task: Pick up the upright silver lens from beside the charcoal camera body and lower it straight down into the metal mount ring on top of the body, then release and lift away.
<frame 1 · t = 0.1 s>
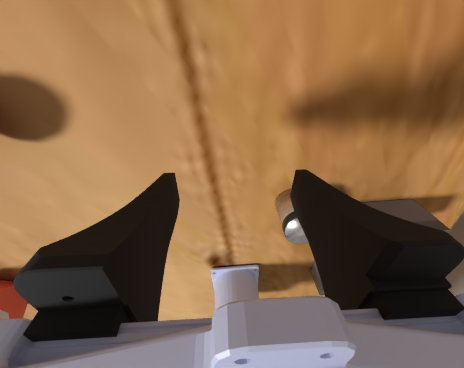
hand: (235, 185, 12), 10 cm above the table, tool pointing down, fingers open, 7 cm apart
lens: (291, 201, 27), on the table
camera body: (354, 240, 32), on the table
french fries container: (11, 288, 35), on the table
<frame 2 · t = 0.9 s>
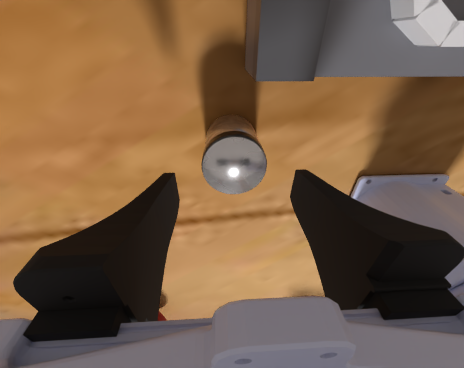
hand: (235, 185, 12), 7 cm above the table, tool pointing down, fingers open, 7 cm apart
lens: (231, 139, 18), on the table
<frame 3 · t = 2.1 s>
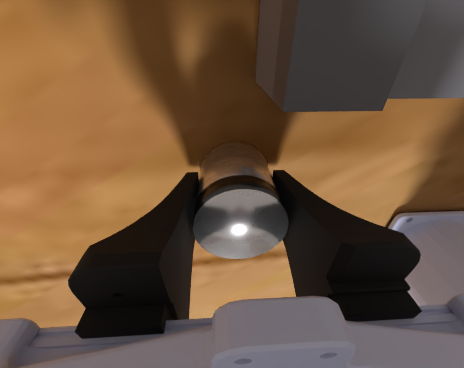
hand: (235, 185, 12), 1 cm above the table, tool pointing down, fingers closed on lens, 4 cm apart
lens: (234, 172, 14), on the table, touching gripper
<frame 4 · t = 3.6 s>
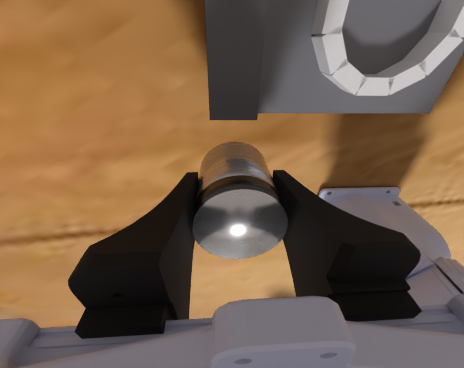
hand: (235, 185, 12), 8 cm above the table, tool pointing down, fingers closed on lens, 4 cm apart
lens: (233, 172, 14), point 7 cm above the table, touching gripper
camera body: (321, 18, 15), on the table
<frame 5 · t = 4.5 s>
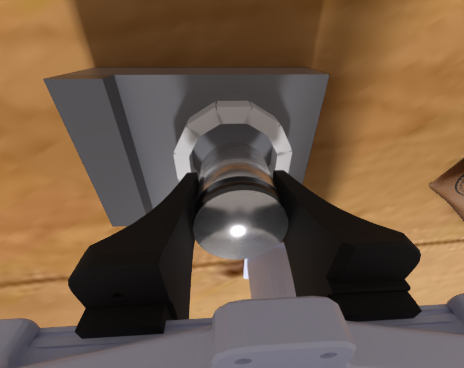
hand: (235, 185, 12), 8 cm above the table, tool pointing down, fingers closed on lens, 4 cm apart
lens: (233, 173, 14), point 6 cm above the table, touching gripper
camera body: (207, 136, 19), on the table
when the fingers open (6 cm above the table, at t = 5.3 s): lens stays where it is, resting on camera body.
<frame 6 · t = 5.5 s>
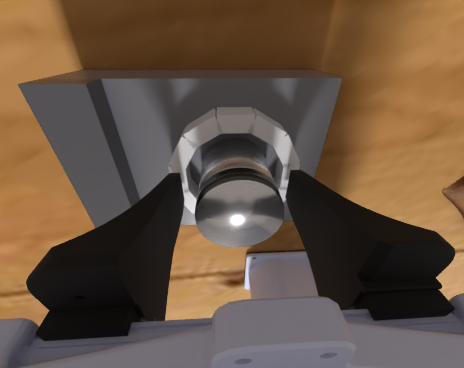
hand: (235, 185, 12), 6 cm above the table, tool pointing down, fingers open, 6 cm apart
lens: (233, 167, 14), point 4 cm above the table, touching camera body
camera body: (207, 143, 17), on the table
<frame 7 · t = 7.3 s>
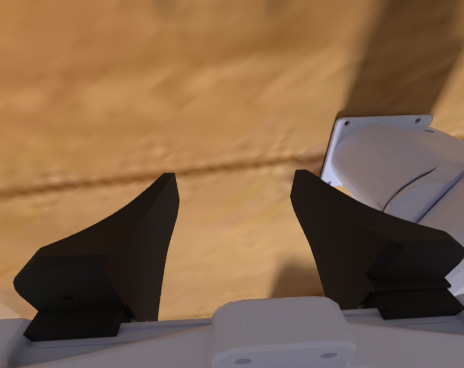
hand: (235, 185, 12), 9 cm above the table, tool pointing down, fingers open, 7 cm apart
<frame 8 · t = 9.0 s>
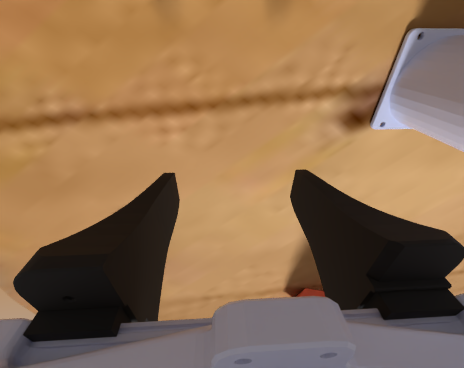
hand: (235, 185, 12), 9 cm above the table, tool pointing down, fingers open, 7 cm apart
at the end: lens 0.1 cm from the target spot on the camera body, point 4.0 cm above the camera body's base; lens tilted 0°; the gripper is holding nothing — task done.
